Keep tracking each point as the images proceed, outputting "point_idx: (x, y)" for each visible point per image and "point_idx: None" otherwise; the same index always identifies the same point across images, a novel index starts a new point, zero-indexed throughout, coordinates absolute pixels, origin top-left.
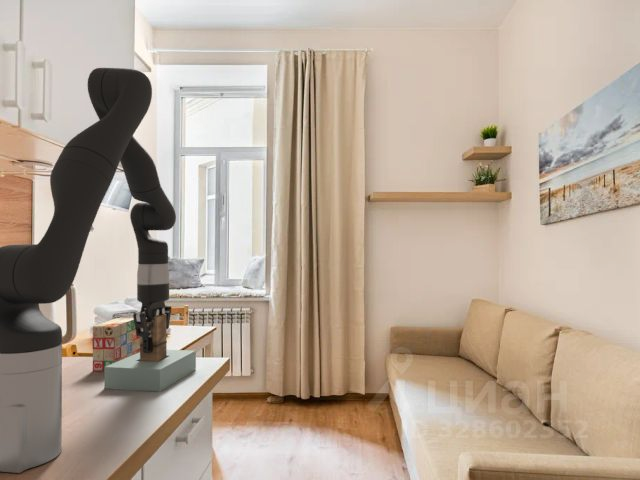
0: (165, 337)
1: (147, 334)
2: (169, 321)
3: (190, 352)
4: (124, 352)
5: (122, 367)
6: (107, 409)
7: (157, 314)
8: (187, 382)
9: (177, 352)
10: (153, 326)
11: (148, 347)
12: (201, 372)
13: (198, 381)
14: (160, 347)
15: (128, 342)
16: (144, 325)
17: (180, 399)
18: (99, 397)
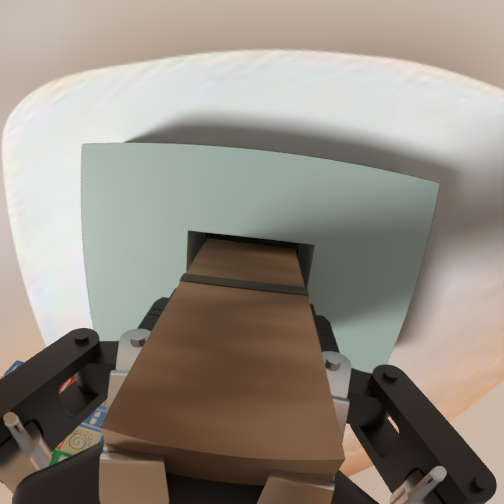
0: (187, 294)
1: (393, 370)
2: (40, 353)
3: (114, 153)
4: None
5: (391, 346)
6: (499, 261)
7: (301, 488)
8: (295, 106)
9: (121, 222)
10: (344, 399)
11: (327, 326)
12: (158, 102)
13: (279, 68)
14: (261, 278)
15: (93, 432)
16: (443, 423)
17: (456, 90)
18: (424, 327)
